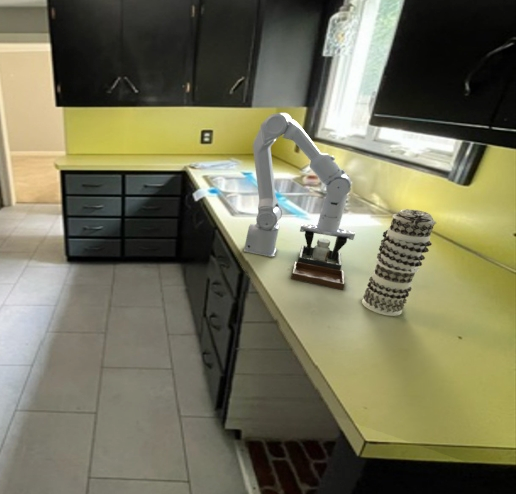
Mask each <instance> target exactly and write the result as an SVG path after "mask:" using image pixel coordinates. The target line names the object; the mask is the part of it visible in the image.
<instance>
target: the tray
mask: <svg viewBox="0 0 516 494" xmlns="http://www.w3.org/2000/svg"><path fill="white" fill-rule="evenodd" d="M290 279H291V280H293V281H300V282H304V283H309V284H313V285H317V286H323V287H327V288H332V289H335V290H340V291H344V288H345V285H346V282H345V271H344V270H341V269H340V270H336V269H331V268H326V267H321V266H316V265H311V264H306V263H301V262H298V261H294V265H293V268H292V273H291V277H290Z"/></svg>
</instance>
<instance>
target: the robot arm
mask: <svg viewBox="0 0 516 494" xmlns="http://www.w3.org/2000/svg"><path fill="white" fill-rule="evenodd" d="M281 136H282V137H281ZM280 137H281V138H282V139H286V140H289V141H292V142H293V143H294V144H295V145H296V146H297V147H298V148H299V150H300V151H302V153H303V154H304V155H305V156H306V157H307V158H308V159H309V160H310V162H309V168H310V169H311V171H312V172H313V173H314V174H315V176H316V177H317V178H318V180H319V181H320V182H321V183H322V184H324V185H326V188H325V189H326V194H325V197H324V199H323V201H322V206H321V209H320V213H319V218H318V222H317V224H304V223H301V224H300V228H299V232H300V233H304V239H305V242H306V246H307V255H306V256H309V255H310V249H311V247H312V243H313V240H314V236H315V234H316V235H324V236H330V237H335V243H334V246H333V249H332V250H333V252H332V254H331V260H330V261H334V260H333V259H334V257H335V255H336V254H337V252H340V250H341V249H342V248H343V247H344V246H345V245H346V244H347V242H348V240H350V241H354V239H355V236H356V232H355V231H350V230H345V229H343V228H340V225H341V222H342V218H343V216H344V211H345V208H346V204H347V201H346V200H347V199H348V194H349V193H350V192H351V190H352V188H351V187H352V180H351V178H350V175H348V174H347V173H346V171H345V169H342V168H341V167H340V166H339V165H338V164H337V163H336V161H335V160H336V157H335V156H334V155H330V154H329V153H323V152H321V151H320V150H319V149H318V147H317V145H315V143H314V142H313V140H312V139H311V138H310V136H309V134H307V133H306V131H305V130H304V129H303V127H302V126H301V125H300V124H299V123H298V122H297V121H296V120H295V119H292V116H291V115H290V114H289V113H287V112H285V111H280V112H277V113H273V114H270V115H269V116H268V117H267V118H266V119H264V121H263V122H262V123H261V124H260V127H259V130H258V132H257V134H256V136H255V138H254V140H253V143H252V150H253V151H252V152H253V160H254V166H255V167H254V168H255V175H256V183H257V192H258V206H257V210H258V211H257V215H256V219H255V220H256V223H250V224H249V226H248V229H247V234H246V237H245V242H244V243H245V244H244V249H243V252H244V253H249V254H255V255H260V256H265V257H270V258H274V257H275V255H276V252H277V250H278V249H277V247H276V245H277V240H278V235H279V231H280V225H279V223H278V221H279V220H280V219H281V218H282V217H283V210H282V208H281V207H280V205H279V199H278V198H277V196H276V195H277V194H276V187H275V178H274V176H275V175H274V167H273V159H272V158H273V157H272V149H271V148H272V146H273V145H274V144H275V142H276V141H277V140H278V138H280Z"/></svg>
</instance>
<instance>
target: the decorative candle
mask: <svg viewBox="0 0 516 494" xmlns="http://www.w3.org/2000/svg"><path fill="white" fill-rule="evenodd" d="M391 217H392V220H391V222H390V226H389V227H388V228H387V229H386V230H385V231H383V233H382V237H383V239H381V240H380V245H379V248H378V251H379V252H378V253H377V255H376V259H375V262H376V265H375V270H373V272H372V274H371V276H370V277H369V282H368V284H367V288H366V289H365V291H364V294H363V296H362V297H363V299H362V300H361V303H362V305H363V306H364V307H365V308H366V309H368V310H370V312H371V311H372V312H374V313H376V314H380V315H383V316H387V317H388V316H391V317H396V316H400V315H402V313H403V309H405V304H407V301H408V300H407V298H408V297H409V295H410V293H409V292H411V291H412V284H413V281H414V280H413V278H414V277H415V274H416V273H418V272H419V271H420V267H421V266H423V263H422V261H424V260H425V259H426V257H425V256H424V255H423V254H424V253H428V252H430V250H429V248H428V247H430V246H432V244H433V243H432V242H431V241H430V239H431V237H432V235H431V234H432V232H433V229H434V226H435V225H436V224H437V221H436V220H434V218H433V216H432V214H430V213H429V212H427V211H422V210H418V209H408V208H407V209H401V210H399V211H398V212H397V213H394V214H392V215H391Z"/></svg>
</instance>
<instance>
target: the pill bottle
mask: <svg viewBox="0 0 516 494" xmlns="http://www.w3.org/2000/svg"><path fill="white" fill-rule="evenodd" d="M330 245H331V241H330V240H329V239H326V238H318V239H317V241H316V244H315V246H313V247H314V250H313V254H312V256H311V257H310V259H315V260H320V261H325V262H328V260H329V259H328V255H329V252H330V250H331V248H330Z"/></svg>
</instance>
